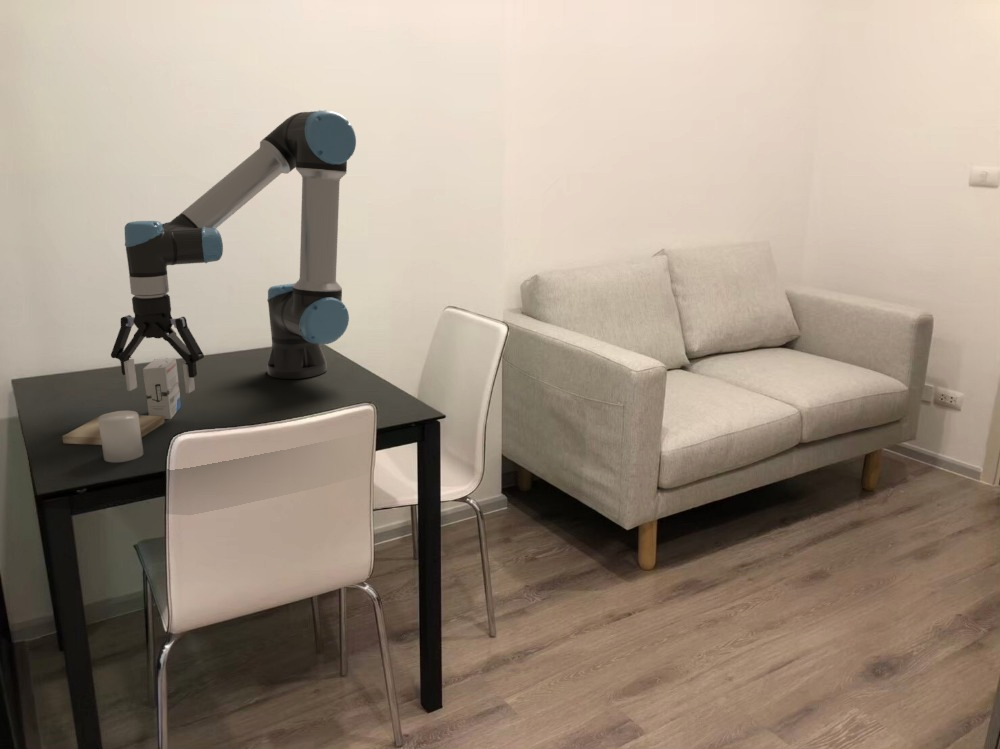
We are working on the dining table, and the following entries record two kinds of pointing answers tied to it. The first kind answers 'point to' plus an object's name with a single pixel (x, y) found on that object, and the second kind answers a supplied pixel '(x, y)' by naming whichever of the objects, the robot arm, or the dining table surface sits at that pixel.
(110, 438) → the white frosted cylinder
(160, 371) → the ink box
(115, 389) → the dining table surface
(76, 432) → the birch board
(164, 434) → the dining table surface
